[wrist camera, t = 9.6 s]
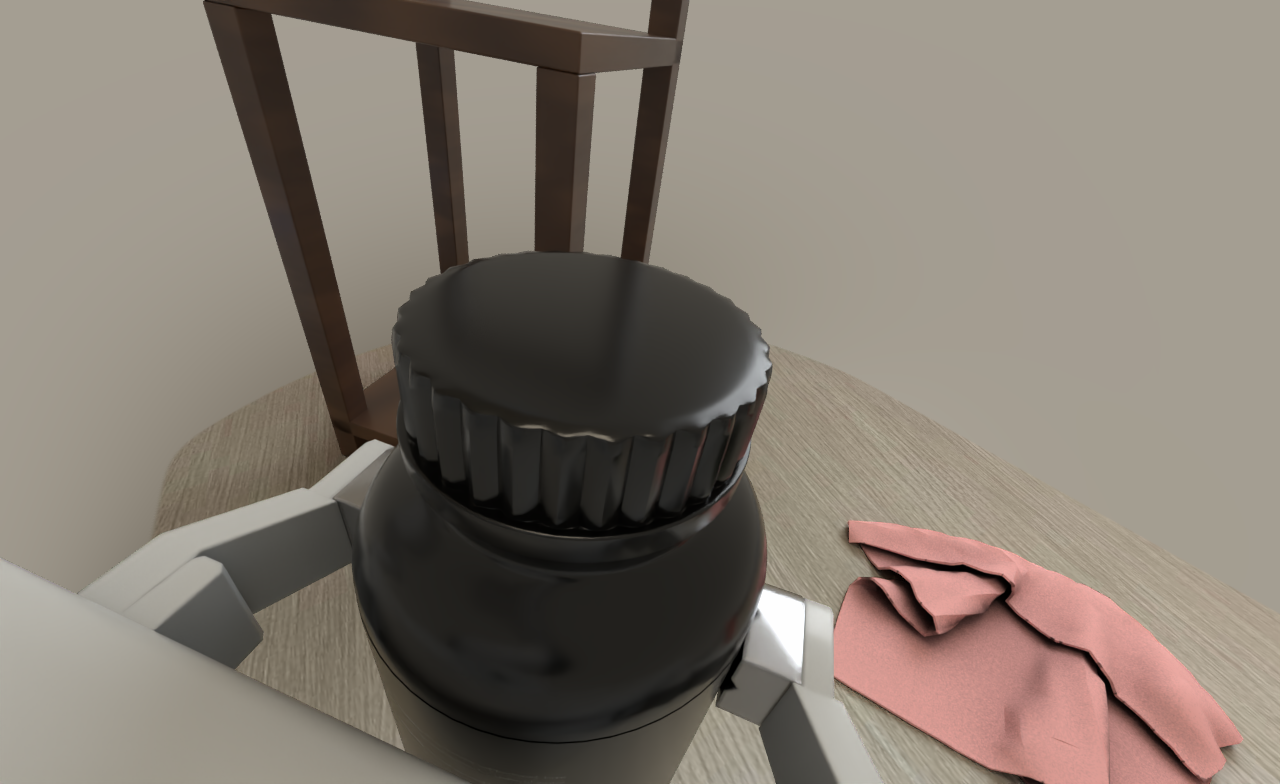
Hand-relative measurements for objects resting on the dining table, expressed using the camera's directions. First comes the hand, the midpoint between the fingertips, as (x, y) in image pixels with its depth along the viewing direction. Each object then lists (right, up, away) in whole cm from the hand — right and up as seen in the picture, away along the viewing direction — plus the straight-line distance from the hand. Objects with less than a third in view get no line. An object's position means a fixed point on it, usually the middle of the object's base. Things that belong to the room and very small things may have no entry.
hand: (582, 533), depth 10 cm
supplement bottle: (-1, -6, +3) cm, 7 cm away
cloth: (+22, -12, +19) cm, 32 cm away
